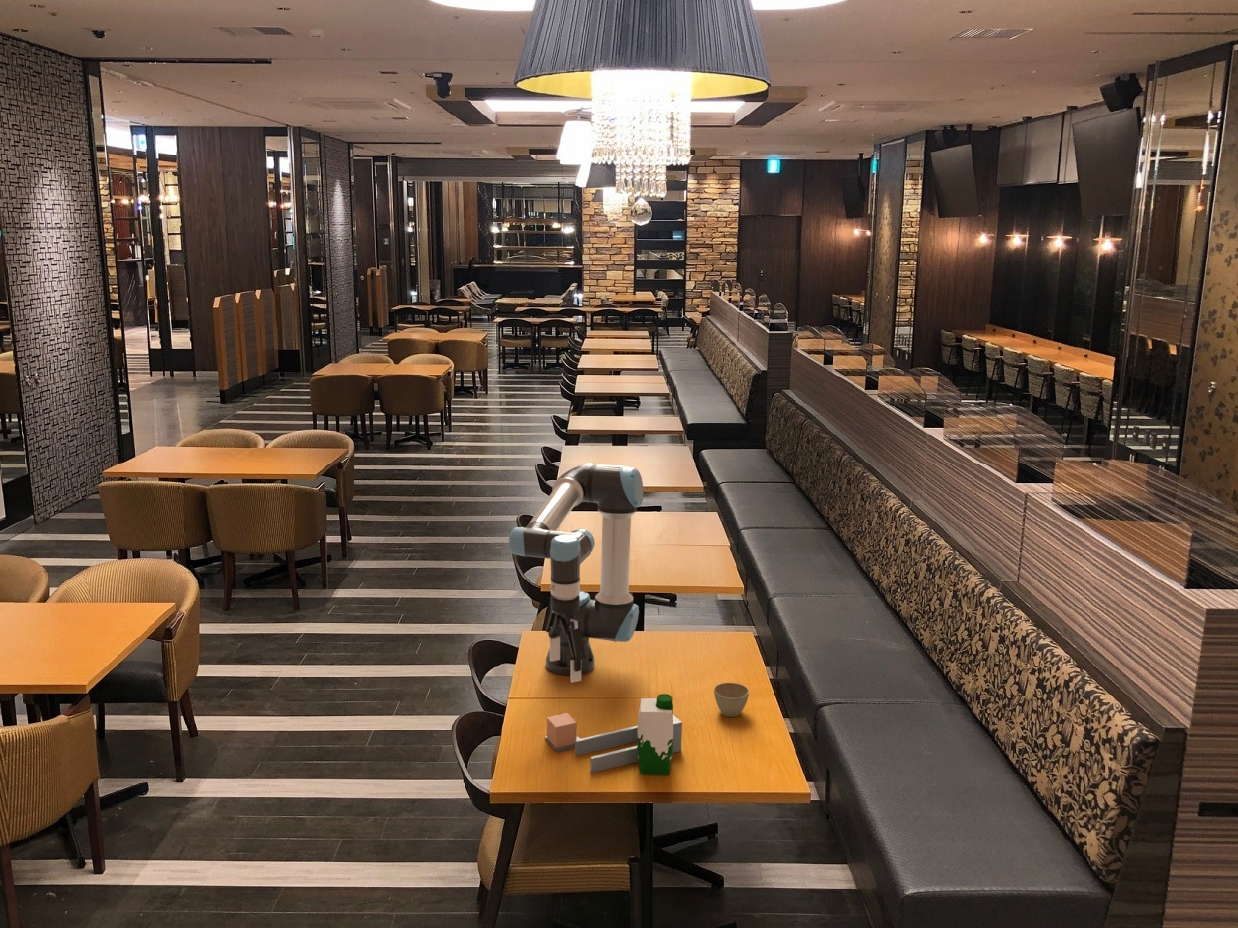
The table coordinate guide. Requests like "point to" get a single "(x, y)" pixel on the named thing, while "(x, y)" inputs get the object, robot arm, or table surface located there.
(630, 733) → the chute
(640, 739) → the milk carton
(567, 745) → the coaster
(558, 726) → the block
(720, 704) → the flower pot
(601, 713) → the table surface
